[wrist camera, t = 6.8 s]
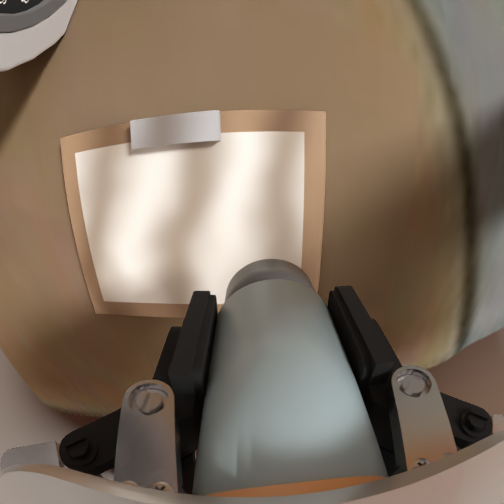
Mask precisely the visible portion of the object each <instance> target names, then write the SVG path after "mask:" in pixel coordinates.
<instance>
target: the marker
mask: <svg viewBox="0 0 504 504" xmlns="http://www.w3.org/2000/svg"><path fill="white" fill-rule="evenodd" d="M387 477H388V474H387V470H386V467H385V464H384V461H383V458H382V454H381V451H380V448H379V445H378V442H377V439H376V436H375V433H374V430H373V427H372V424H371V421H370V418H369V415H368V413H367V410H366V407H365V404H364V401H363V398H362V396H361V393H360V390H359V387H358V385H357V382H356V379H355V377H354V374H353V371H352V369H351V366H350V363H349V361H348V358H347V355H346V353H345V350H344V348H343V345H342V343H341V340H340V337H339V335H338V332H337V330H336V327H335V325H334V322H333V320H332V318H331V315H330V313H329V310H328V308H327V306H326V304H325V302H324V300H323V299H322V298H321V297H320V296H319V294H318V293H316V292H315V290H314V288H313V285H312V283H311V281H310V278H309V277H308V276H307V274H306V273H305V272H304V271H303V270H302V269H301V268H300V267H298V266H296V265H295V264H293V263H291V262H288V261H285V260H280V259H263V260H258V261H255V262H252V263H250V264H248V265H246V266H245V267H243V268H241V269H240V270H239V271H238V272H237V273H236V274H235V275H234V276H233V278H232V279H231V280H230V282H229V284H228V287H227V290H226V297H225V303H224V304H223V305H222V307H221V309H220V311H219V313H218V316H217V321H216V328H215V334H214V340H213V347H212V353H211V360H210V366H209V373H208V380H207V387H206V394H205V399H204V405H203V412H202V420H201V427H200V434H199V442H198V450H197V458H196V466H195V474H194V482H193V491H192V495H201V496H216V497H274V496H288V495H299V494H308V493H315V492H322V491H329V490H335V489H340V488H345V487H350V486H355V485H359V484H364V483H368V482H372V481H376V480H380V479H383V478H387Z"/></svg>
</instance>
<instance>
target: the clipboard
mask: <svg viewBox="0 0 504 504" xmlns="http://www.w3.org/2000/svg"><path fill="white" fill-rule="evenodd" d="M60 140H61V153H62V164H63V173H64V181H65V188H66V195H67V201H68V207H69V213H70V218H71V223H72V228H73V233H74V237H75V242H76V246H77V250H78V255H79V259H80V262H81V266H82V270H83V274H84V277H85V281H86V284H87V288H88V291H89V294H90V297H91V300H92V304H93V307H94V310H95V313H98V314H111V315H127V316H145V317H170V318H185V316H186V313H187V310H188V307H189V303H190V300H191V297H192V294H193V292H194V291H210V294H211V295H216V300H217V309H218V313H219V311H220V309H221V307H222V305H223V304H224V303H225V297H226V290H227V287H228V284H229V282H230V280H231V279H232V278H233V276H234V275H235V274H236V273H237V272H238V271H239V270H240V269H241V268H243V267H245V266H246V265H248V264H250V263H252V262H255V261H258V260H263V259H280V260H285V261H288V262H291V263H293V264H295V265H296V266H298V267H300V268H301V269H302V270H303V271H304V272H305V273H306V274H307V276H308V277H309V278H310V281H311V283H312V285H313V288H314V290H315V292H316V293H318V286H319V276H320V264H321V251H322V237H323V220H324V200H325V169H326V112H323V111H305V110H237V111H219V110H212V111H200V112H190V113H180V114H172V115H164V116H157V117H150V118H144V119H138V120H132V121H130V122H128V123H123V124H118V125H113V126H108V127H103V128H99V129H94V130H90V131H86V132H82V133H78V134H74V135H70V136H67V137H63V138H60Z"/></svg>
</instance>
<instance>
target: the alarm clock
mask: <svg viewBox="0 0 504 504" xmlns="http://www.w3.org/2000/svg"><path fill="white" fill-rule="evenodd" d="M77 1H78V0H0V72H2V71H7V70H10V69H12V68H14V67H16V66H18V65H21V64H23V63H25V62H28V61H30V60H33V59H34V58H35V57H37V56H38V55H39V54H41V53H42V52H44V51H45V50H46V49H48V48H49V47H51V46H52V45H54V44H55V43H56V42H57V41H58V40H59V39H60V38H61V37H62V36H63V35H64V33H65V31H66V29H67V26H68V23H69V21H70V18H71V15H72V13H73V10H74V8H75V6H76V3H77Z"/></svg>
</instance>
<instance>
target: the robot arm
mask: <svg viewBox="0 0 504 504" xmlns="http://www.w3.org/2000/svg"><path fill="white" fill-rule="evenodd" d="M328 310H329V313H330V315H331V318H332V320H333V322H334V325H335V327H336V330H337V332H338V335H339V337H340V340H341V343H342V345H343V348H344V350H345V353H346V355H347V358H348V361H349V363H350V366H351V369H352V371H353V374H354V377H355V379H356V382H357V385H358V387H359V390H360V393H361V396H362V398H363V401H364V404H365V407H366V410H367V413H368V415H369V418H370V421H371V424H372V427H373V430H374V433H375V436H376V439H377V442H378V445H379V448H380V451H381V454H382V458H383V461H384V464H385V467H386V470H387V474H388V477H387V478H383V479H380V480H376V481H372V482H368V483H364V484H359V485H355V486H350V487H345V488H340V489H335V490H329V491H322V492H315V493H308V494H299V495H288V496H274V497H216V496H201V495H192V491H193V482H194V474H195V466H196V456H195V450H197V449H198V442H199V434H200V427H201V420H202V412H203V405H204V399H205V394H206V387H207V380H208V373H209V366H210V360H211V353H212V347H213V340H214V334H215V328H216V321H217V316H218V309H217V300H216V295H211V294H210V291H194V292H193V294H192V297H191V300H190V303H189V307H188V310H187V313H186V316H185V319H184V322H183V325H182V327H171V329H170V331H169V334H168V336H167V339H166V342H165V345H164V348H163V351H162V353H161V356H160V359H159V362H158V365H157V368H156V371H155V374H154V377H153V380H151V379H149V380H142V381H140V382H137V383H135V384H133V385H132V386H131V387H129V388H128V390H127V391H126V392H125V394H124V397H123V401H122V407H121V408H120V409H119V410H117V411H115V412H113V413H111V414H108V415H106V416H104V417H102V418H100V419H98V420H96V421H95V422H92V423H90V424H88V425H86V426H83V427H81V428H79V429H77V430H75V431H73V432H71V433H69V434H68V435H66V436H65V437H64V438H63V440H62V441H61V443H58V444H57V443H56V441H51V442H46V443H41V444H35V445H29V446H23V447H16V448H11V449H8V450H7V451H5V452H4V453H3V456H2V457H1V462H0V468H1V472H0V504H504V415H498V414H492V416H491V417H490V416H489V414H488V413H487V412H486V411H485V410H484V409H482V408H480V407H478V406H475V405H473V404H470V403H467V402H464V401H462V400H459V399H457V398H454V397H451V396H449V395H446V394H443V393H441V392H439V389H438V386H437V383H436V381H435V379H434V377H433V375H432V374H431V373H430V372H428V371H427V370H426V369H424V368H422V367H418V366H412V365H408V366H403V367H402V365H401V363H400V362H399V360H398V358H397V356H396V354H395V353H394V351H393V349H392V347H391V345H390V344H389V342H388V340H387V338H386V337H385V335H384V333H383V332H382V330H381V328H380V326H379V325H378V323H377V322H376V320H374V319H371V318H370V316H369V315H368V313H367V311H366V309H365V308H364V306H363V304H362V303H361V301H360V299H359V298H358V296H357V294H356V293H355V291H354V289H353V288H352V286H338V287H335V289H334V291H330V293H329V300H328Z"/></svg>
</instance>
